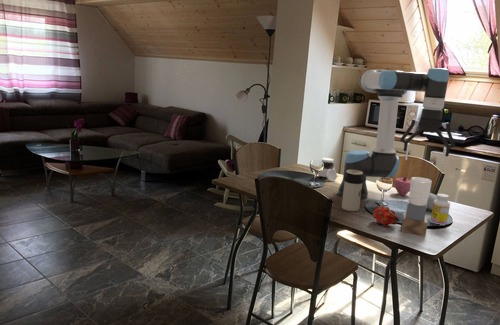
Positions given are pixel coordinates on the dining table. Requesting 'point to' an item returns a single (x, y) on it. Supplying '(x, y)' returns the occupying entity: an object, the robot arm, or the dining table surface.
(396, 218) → the dragon fruit
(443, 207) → the supplement bottle
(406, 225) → the walnut base block
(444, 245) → the dining table surface
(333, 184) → the dining table surface
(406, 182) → the apple
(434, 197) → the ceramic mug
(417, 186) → the white cup
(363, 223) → the dining table surface
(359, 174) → the travel mug
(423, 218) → the gray block
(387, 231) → the dining table surface
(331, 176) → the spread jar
